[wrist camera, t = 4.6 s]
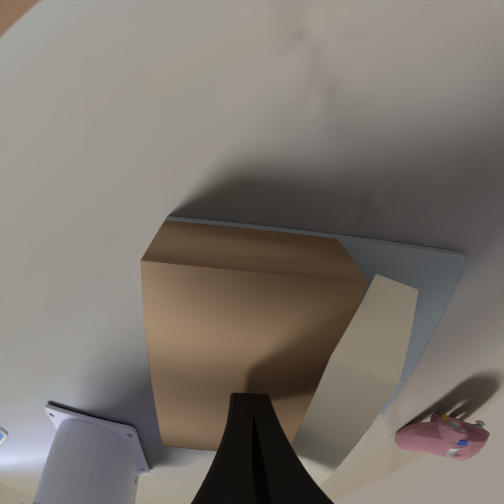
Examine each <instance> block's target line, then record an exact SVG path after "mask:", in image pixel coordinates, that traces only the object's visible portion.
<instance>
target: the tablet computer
mask: <svg viewBox="0 0 504 504" xmlns="http://www.w3.org/2000/svg"><path fill="white" fill-rule="evenodd" d="M7 436H8V433H7V432H6V431H5V430H4V429H3V428H1V427H0V444H1V443H2V442H3V441H4V440H5V439H6V437H7Z"/></svg>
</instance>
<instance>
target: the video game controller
mask: <svg viewBox="0 0 504 504" xmlns="http://www.w3.org/2000/svg"><path fill="white" fill-rule="evenodd" d="M475 422H476V423H477V424H470V423H467V422H464V421H461V420H459V419H457V418H454V417H450V416H449V417H448V415H446V414H442V415H437V414H434V415H433V417H432V418H431V420H430V422H421V423H415V424H410V425H408V426H405V427H403V428H401V429H400V430H399V431H398V432H397V433H396V436H395V441H396V444H397V446H398V447H400V448H402V449H404V450H409V451H424V452H430V453H433V454H436V455H439V456H444V457H452V458H453V459H455V460H459V461H463V460H466V459H468V458H471V457H472V456H474V455H475V454H478V452H479V451H480V449H481V448H482V447H484V445H485V443H486V441H487V439H488V437H489V432H488V431H486V430H485V429H483V427H482V425H485V424H484V422H483V421H480V420H478V421H475Z"/></svg>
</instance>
